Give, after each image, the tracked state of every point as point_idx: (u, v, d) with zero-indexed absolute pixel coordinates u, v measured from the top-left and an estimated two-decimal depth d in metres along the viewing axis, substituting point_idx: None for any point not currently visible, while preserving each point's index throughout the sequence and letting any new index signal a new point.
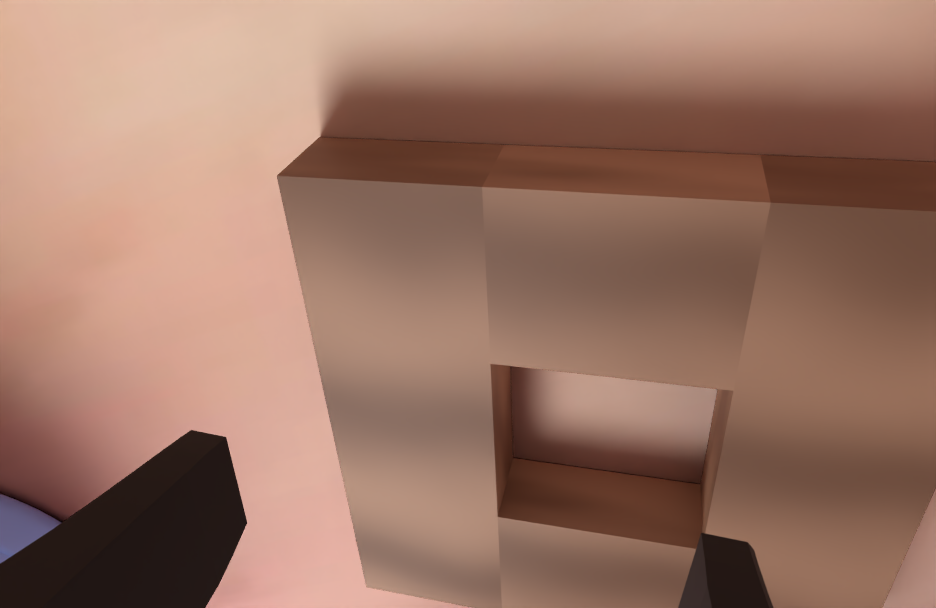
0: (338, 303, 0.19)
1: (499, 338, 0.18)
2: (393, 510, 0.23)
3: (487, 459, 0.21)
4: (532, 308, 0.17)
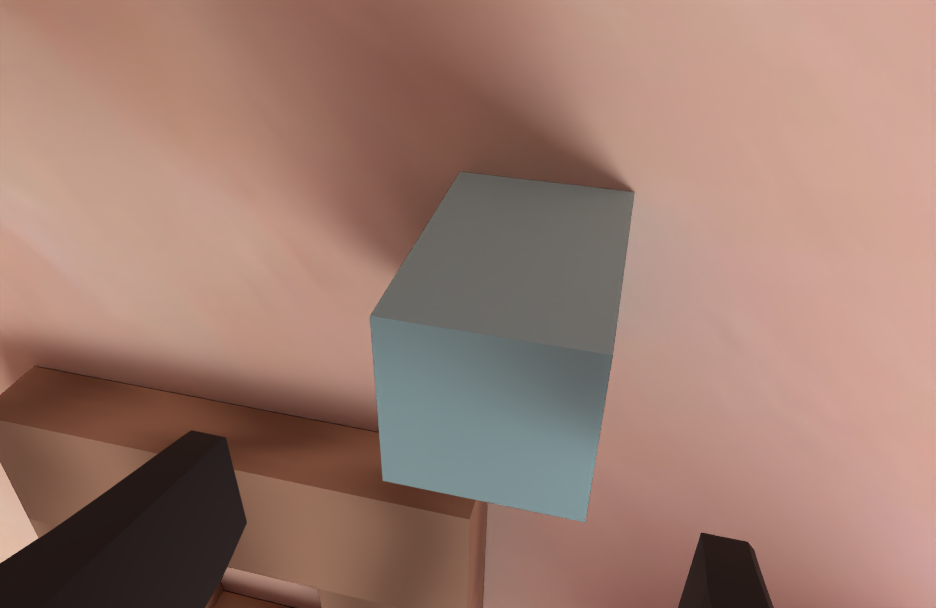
0: None
1: None
2: None
3: None
4: None
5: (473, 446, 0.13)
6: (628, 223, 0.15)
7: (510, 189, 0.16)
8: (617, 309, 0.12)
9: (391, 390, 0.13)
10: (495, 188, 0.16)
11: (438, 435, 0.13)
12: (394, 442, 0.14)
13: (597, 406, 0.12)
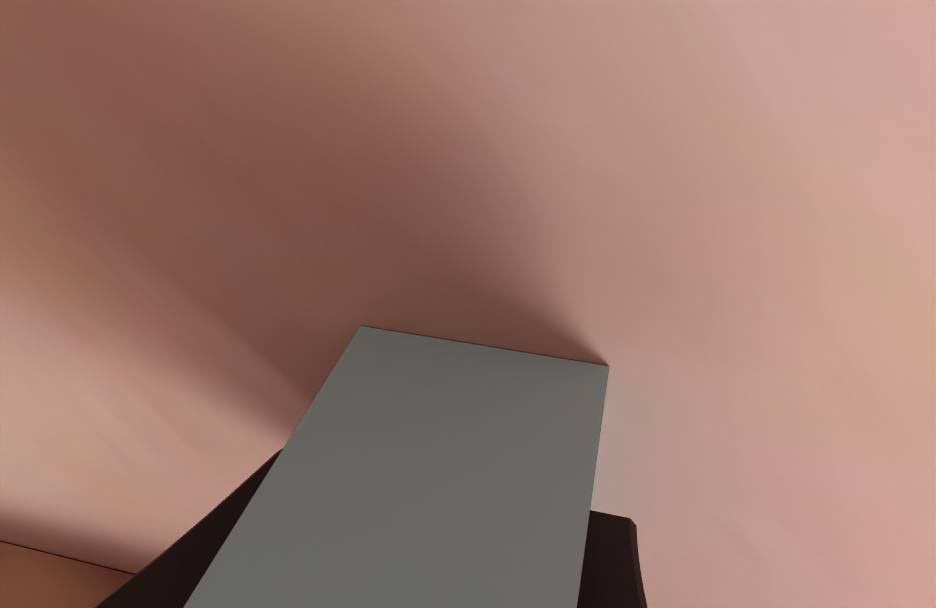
0: None
1: None
2: None
3: None
4: None
5: None
6: (596, 437, 0.10)
7: (426, 362, 0.11)
8: None
9: None
10: (404, 361, 0.11)
11: None
12: None
13: None
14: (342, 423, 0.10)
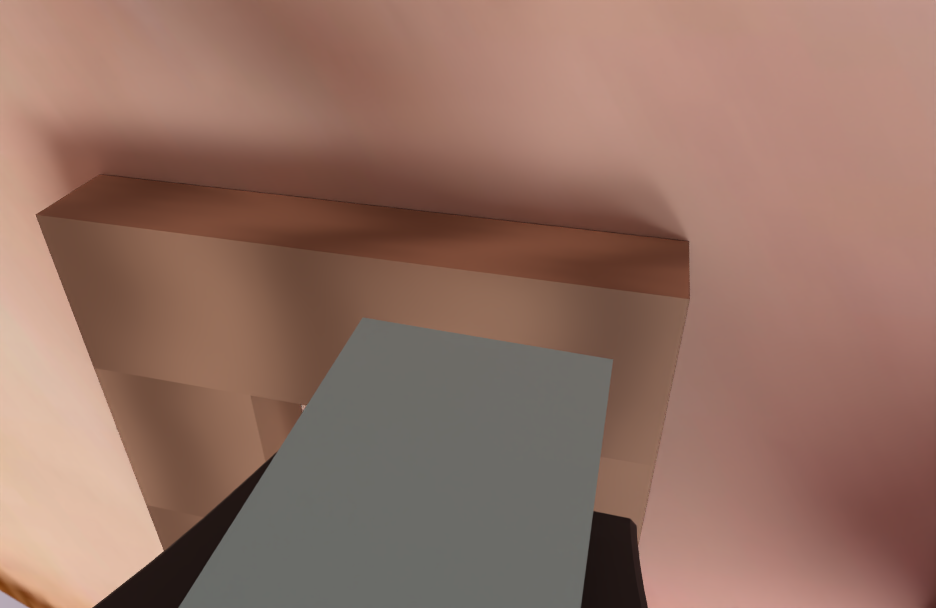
0: None
1: None
2: None
3: None
4: None
5: None
6: (601, 429, 0.10)
7: (430, 353, 0.11)
8: None
9: None
10: (407, 353, 0.11)
11: None
12: None
13: None
14: (345, 414, 0.10)
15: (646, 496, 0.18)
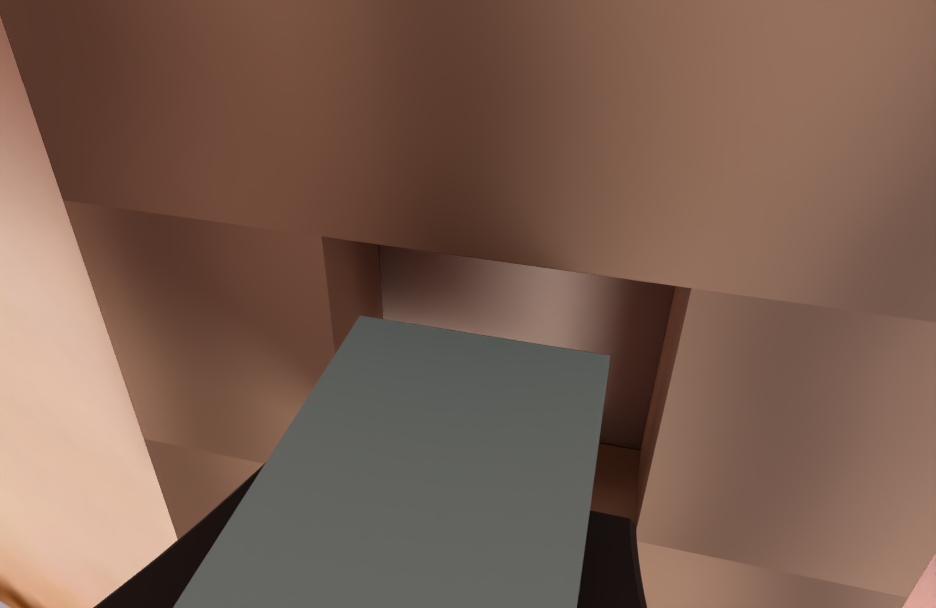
0: None
1: None
2: None
3: None
4: (262, 428, 0.15)
5: None
6: (598, 425, 0.10)
7: (426, 351, 0.11)
8: None
9: None
10: (404, 351, 0.11)
11: None
12: None
13: None
14: (342, 412, 0.10)
15: None
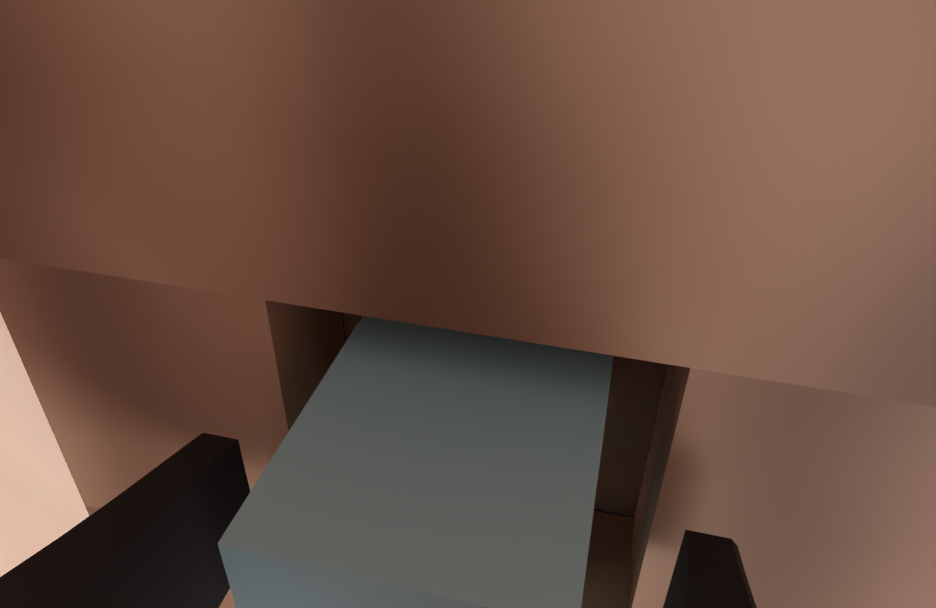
0: None
1: None
2: None
3: None
4: None
5: None
6: (610, 357, 0.11)
7: None
8: (589, 527, 0.08)
9: None
10: None
11: None
12: None
13: None
14: (382, 345, 0.11)
15: None
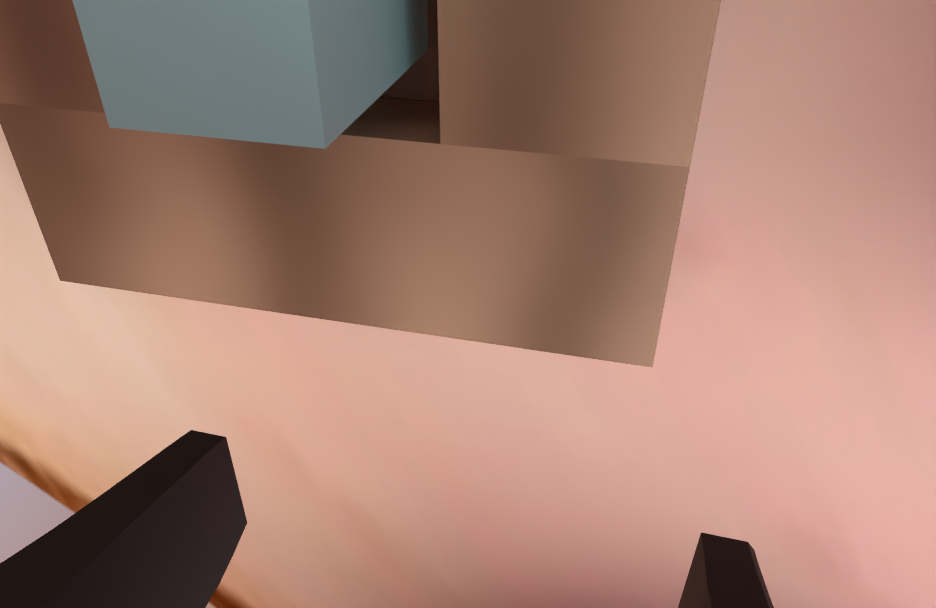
0: (166, 266, 0.19)
1: None
2: (465, 286, 0.17)
3: (331, 143, 0.15)
4: None
5: (185, 50, 0.11)
6: None
7: None
8: None
9: None
10: None
11: (146, 40, 0.11)
12: (106, 62, 0.12)
13: None
14: None
15: None
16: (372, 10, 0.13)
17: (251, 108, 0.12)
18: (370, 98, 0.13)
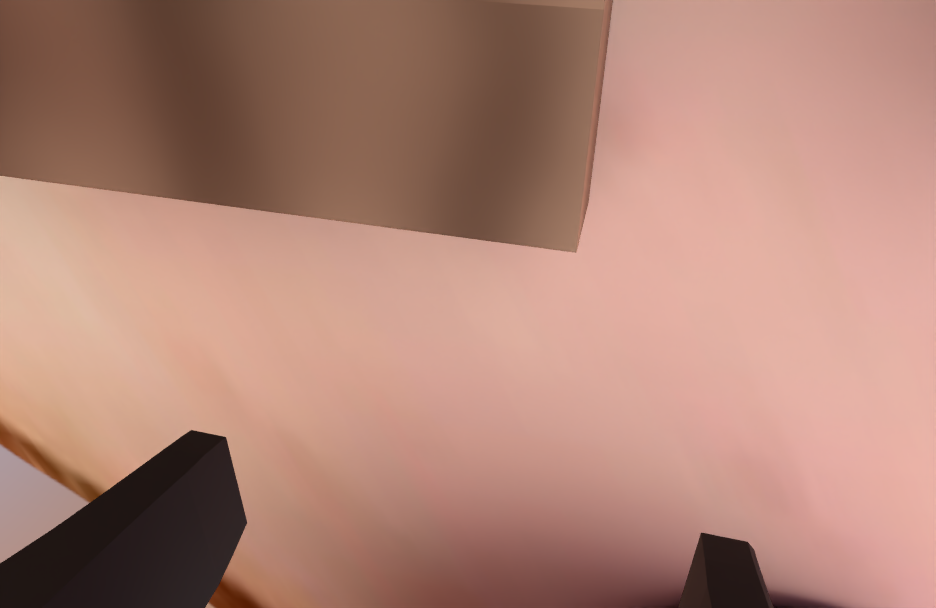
0: (66, 149, 0.17)
1: None
2: (376, 163, 0.16)
3: None
4: None
5: None
6: None
7: None
8: None
9: None
10: None
11: None
12: None
13: None
14: None
15: None
16: None
17: None
18: None
